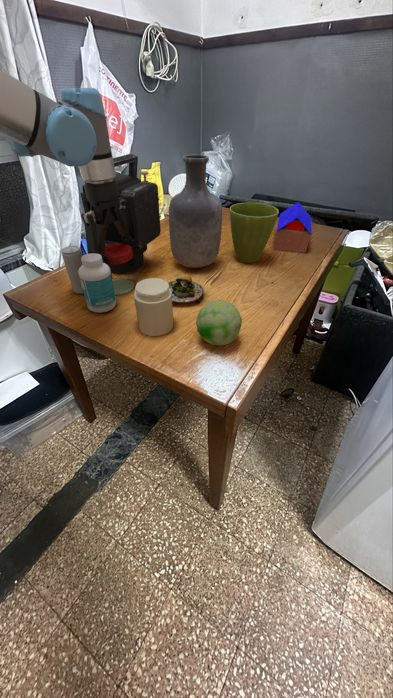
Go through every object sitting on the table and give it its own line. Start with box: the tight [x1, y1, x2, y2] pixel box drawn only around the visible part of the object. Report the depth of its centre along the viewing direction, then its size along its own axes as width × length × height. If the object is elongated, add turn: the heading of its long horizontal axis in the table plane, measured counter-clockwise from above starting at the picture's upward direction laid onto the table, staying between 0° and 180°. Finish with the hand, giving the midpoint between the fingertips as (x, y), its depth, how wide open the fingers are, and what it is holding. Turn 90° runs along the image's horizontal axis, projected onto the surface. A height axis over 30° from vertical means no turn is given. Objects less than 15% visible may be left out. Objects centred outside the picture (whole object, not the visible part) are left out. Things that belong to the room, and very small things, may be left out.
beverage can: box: [60, 245, 84, 295], centre depth 78 cm, size 5×5×12 cm
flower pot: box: [229, 202, 280, 264], centre depth 93 cm, size 15×15×16 cm
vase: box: [168, 153, 223, 269], centre depth 85 cm, size 16×16×30 cm
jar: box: [133, 277, 174, 337], centre depth 66 cm, size 8×8×11 cm
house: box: [273, 201, 313, 254], centre depth 107 cm, size 12×20×12 cm, turn 164°
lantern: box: [79, 153, 162, 274], centre depth 84 cm, size 15×18×30 cm
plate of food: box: [167, 270, 205, 304], centre depth 77 cm, size 12×12×8 cm
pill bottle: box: [78, 253, 117, 314], centre depth 71 cm, size 8×7×14 cm
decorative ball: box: [195, 299, 243, 346], centre depth 62 cm, size 10×10×10 cm
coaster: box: [112, 278, 135, 296], centre depth 83 cm, size 8×8×1 cm
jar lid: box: [99, 243, 133, 265], centre depth 77 cm, size 9×9×2 cm
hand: (119, 271), depth 80 cm, fingers closed on jar lid, 8 cm apart
